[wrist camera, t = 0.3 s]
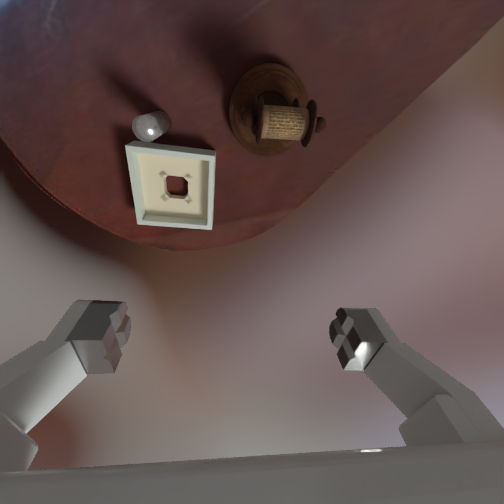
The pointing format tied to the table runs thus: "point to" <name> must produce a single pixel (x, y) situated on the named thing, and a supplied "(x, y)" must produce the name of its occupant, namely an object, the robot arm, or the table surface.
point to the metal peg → (151, 125)
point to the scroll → (272, 110)
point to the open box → (154, 184)
